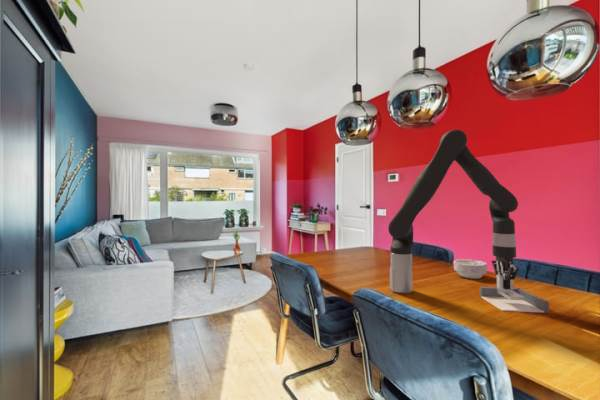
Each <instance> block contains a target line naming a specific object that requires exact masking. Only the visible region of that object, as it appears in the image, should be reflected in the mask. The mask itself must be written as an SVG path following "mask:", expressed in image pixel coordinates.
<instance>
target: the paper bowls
mask: <svg viewBox="0 0 600 400" xmlns="http://www.w3.org/2000/svg"><path fill="white" fill-rule="evenodd" d="M453 270H454V272H455V271H456V272H457V274H458V276H460V277H462V278H466V279H481V278H483V275H486V274H487V273H488V264H487V262H485V261H482V260H476V259H465V258H464V259H462V258H460V259H459V258H458V259H455V260H453Z"/></svg>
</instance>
